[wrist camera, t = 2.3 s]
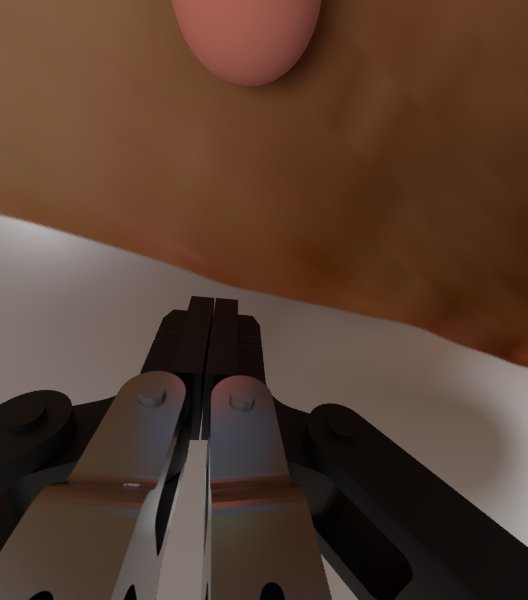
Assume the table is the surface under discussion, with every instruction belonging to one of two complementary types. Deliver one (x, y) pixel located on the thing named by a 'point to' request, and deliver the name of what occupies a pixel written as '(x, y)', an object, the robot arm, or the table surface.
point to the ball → (247, 36)
